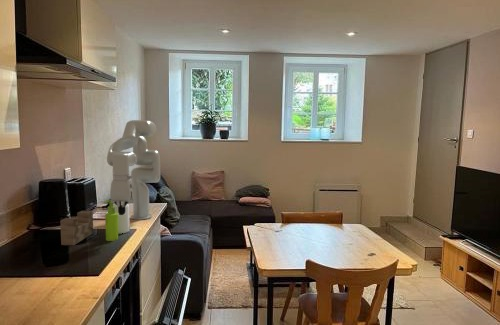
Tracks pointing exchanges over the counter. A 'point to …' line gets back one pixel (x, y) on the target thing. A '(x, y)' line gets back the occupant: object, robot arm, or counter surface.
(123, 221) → the potion bottle
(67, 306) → the counter surface
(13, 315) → the counter surface
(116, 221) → the soap dispenser
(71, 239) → the bottle rest
